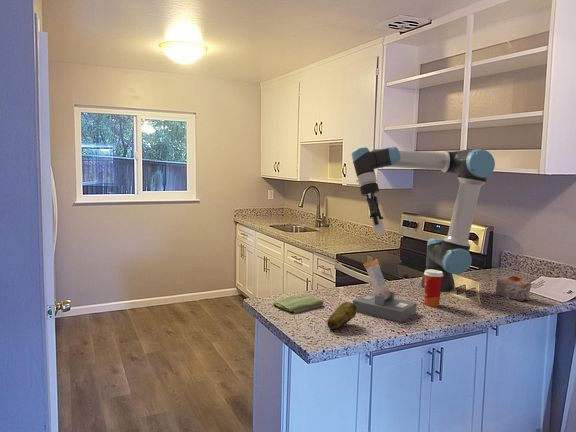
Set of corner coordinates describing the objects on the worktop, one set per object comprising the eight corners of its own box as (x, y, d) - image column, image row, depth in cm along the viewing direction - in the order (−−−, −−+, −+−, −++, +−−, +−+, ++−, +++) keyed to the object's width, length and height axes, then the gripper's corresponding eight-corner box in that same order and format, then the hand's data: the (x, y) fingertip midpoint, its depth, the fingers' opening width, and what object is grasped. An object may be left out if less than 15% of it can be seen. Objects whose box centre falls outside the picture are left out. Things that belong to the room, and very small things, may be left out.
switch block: (352, 310, 178) (353, 291, 177) (369, 302, 189) (370, 284, 188) (400, 322, 166) (401, 302, 165) (415, 313, 177) (417, 294, 176)
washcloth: (270, 306, 181) (270, 298, 181) (304, 299, 192) (304, 291, 192) (291, 315, 171) (291, 307, 171) (326, 307, 182) (326, 299, 182)
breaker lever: (379, 303, 175) (363, 263, 178) (386, 300, 180) (370, 261, 183) (385, 301, 173) (369, 261, 176) (392, 298, 178) (377, 258, 181)
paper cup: (427, 300, 194) (429, 268, 192) (444, 305, 188) (447, 271, 187) (418, 304, 188) (420, 270, 187) (435, 308, 183) (437, 274, 181)
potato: (318, 325, 161) (319, 302, 160) (348, 320, 167) (349, 298, 166) (331, 333, 153) (332, 310, 153) (362, 327, 160) (363, 305, 159)
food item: (532, 300, 198) (534, 278, 197) (523, 303, 194) (525, 280, 193) (502, 292, 209) (504, 271, 208) (492, 295, 205) (494, 274, 203)
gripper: (363, 191, 204) (375, 237, 200) (354, 182, 180) (368, 234, 177) (380, 186, 202) (392, 233, 198) (373, 177, 178) (387, 229, 175)
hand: (381, 234), depth 188 cm, fingers open, 13 cm apart
